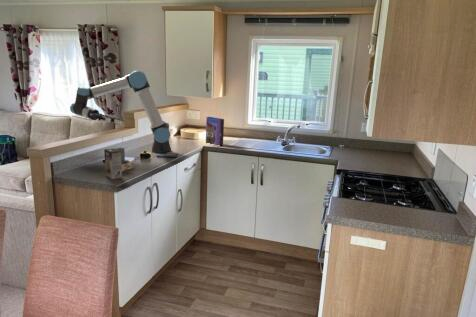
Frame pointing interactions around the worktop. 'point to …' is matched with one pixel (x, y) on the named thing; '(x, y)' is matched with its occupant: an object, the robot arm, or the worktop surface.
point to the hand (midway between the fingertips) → (116, 122)
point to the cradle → (127, 165)
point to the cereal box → (214, 130)
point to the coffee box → (113, 163)
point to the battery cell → (122, 154)
